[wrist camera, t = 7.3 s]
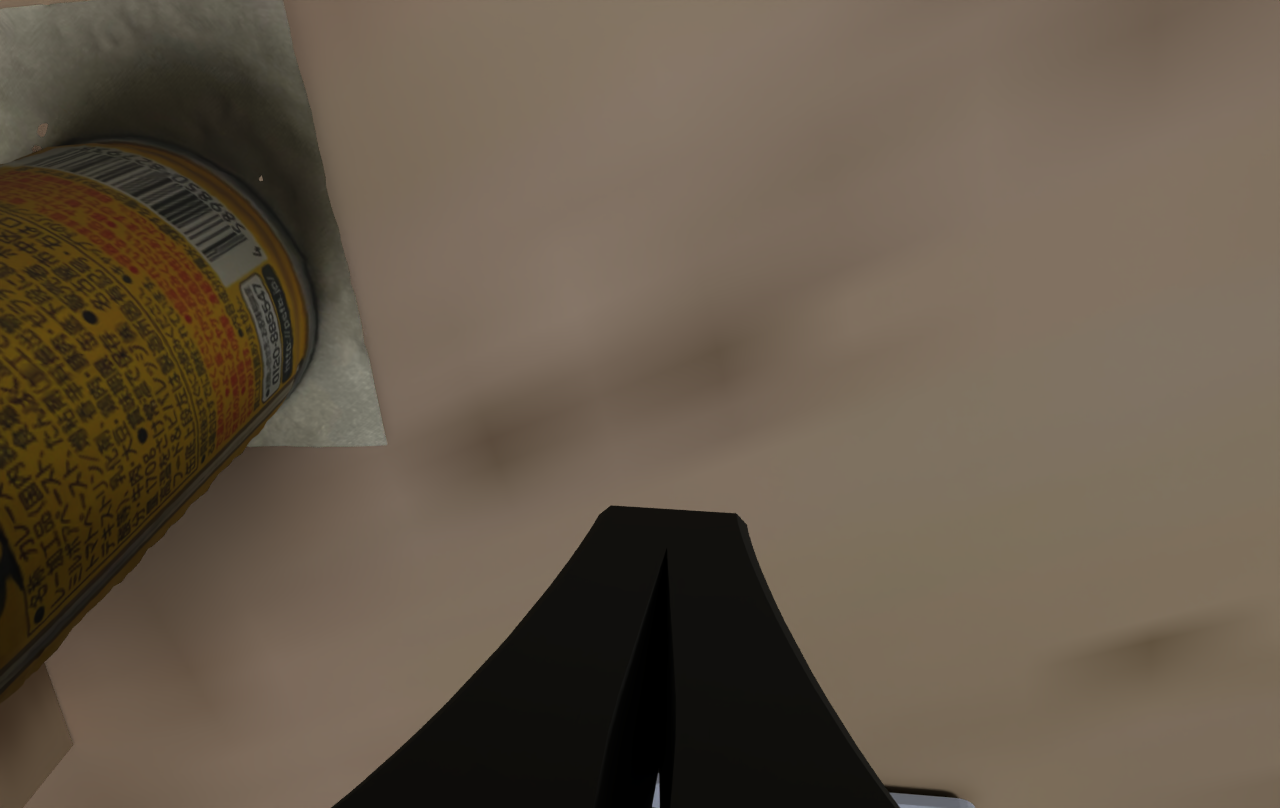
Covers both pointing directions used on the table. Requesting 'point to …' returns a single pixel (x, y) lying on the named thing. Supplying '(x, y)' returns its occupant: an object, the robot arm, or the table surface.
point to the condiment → (154, 288)
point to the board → (30, 739)
